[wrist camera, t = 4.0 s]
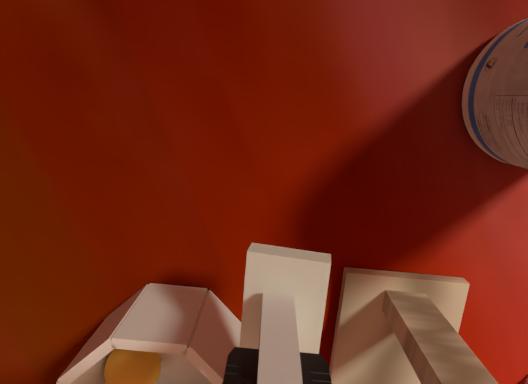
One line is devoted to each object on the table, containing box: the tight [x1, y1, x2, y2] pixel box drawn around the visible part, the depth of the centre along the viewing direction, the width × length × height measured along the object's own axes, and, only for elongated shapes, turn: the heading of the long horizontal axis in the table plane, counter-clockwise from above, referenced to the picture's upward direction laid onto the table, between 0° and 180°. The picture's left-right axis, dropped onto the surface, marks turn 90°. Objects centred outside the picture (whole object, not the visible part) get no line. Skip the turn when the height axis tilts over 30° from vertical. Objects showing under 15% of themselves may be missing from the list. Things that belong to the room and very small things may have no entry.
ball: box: [104, 349, 161, 384], centre depth 28 cm, size 4×4×4 cm
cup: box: [56, 283, 241, 384], centre depth 27 cm, size 11×11×7 cm
